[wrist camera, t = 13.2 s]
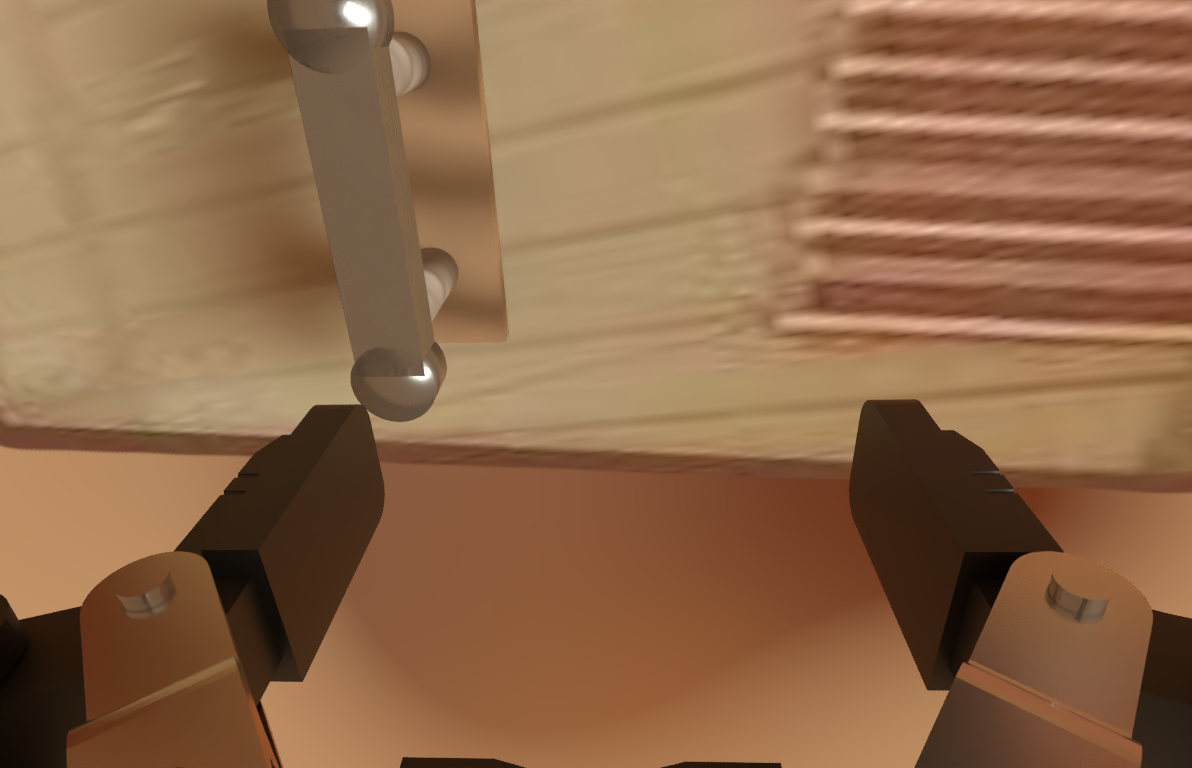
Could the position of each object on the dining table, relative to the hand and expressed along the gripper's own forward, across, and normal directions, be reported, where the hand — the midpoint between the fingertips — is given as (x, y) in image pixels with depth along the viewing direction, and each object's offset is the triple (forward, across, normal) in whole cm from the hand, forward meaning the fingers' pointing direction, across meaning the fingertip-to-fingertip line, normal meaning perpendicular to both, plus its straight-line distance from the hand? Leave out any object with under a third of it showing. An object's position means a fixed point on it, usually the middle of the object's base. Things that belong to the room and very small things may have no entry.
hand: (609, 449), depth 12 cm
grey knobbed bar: (+25, +12, +2) cm, 27 cm away
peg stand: (+34, +12, +2) cm, 36 cm away
